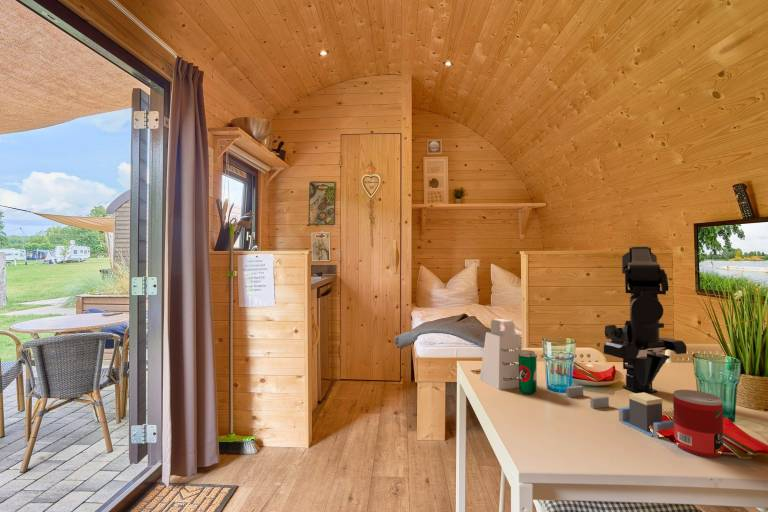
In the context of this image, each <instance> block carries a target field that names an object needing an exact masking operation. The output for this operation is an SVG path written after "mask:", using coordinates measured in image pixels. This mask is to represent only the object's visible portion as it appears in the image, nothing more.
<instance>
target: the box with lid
mask: <svg viewBox="0 0 768 512" xmlns="http://www.w3.org/2000/svg"><path fill="white" fill-rule="evenodd" d="M628 399H629V402H628V403H629V405H628V407H629V408H630V424H631V425H633V426H635V427H638V428H640V429H642V430H644V431H646V432H649V431H650V428H649V426H650V425H652V424H653V423H654V422H661V421H663V398H661V397H658V396H655V395H654V394H653V395H652V394H651V393H645V392H643V393H636V392H634V393H629V394H628Z"/></svg>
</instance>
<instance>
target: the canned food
mask: <svg viewBox="0 0 768 512" xmlns="http://www.w3.org/2000/svg"><path fill="white" fill-rule="evenodd" d="M672 397H673V401H672V402H673V421H674V436H673V438H674V437H675V439H676V440H678V441H679V442H680V443H679V444H678V446H677V448H679V449H680V450H682V451H684V452H686V453H689V454H691V455H696V456H699V457H700V456H701V457H706V458H719V457H721V456H722V455H721V454H720V453H718V451H720V450H722V449H723V450H724V416H723V415H724V407H723V399H722V398H721V397H719V396H718V395H715V394H712V393H709V392H705V391H701V390H700V391H699V390H693V389H676V390H674V391H673V396H672Z"/></svg>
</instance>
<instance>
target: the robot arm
mask: <svg viewBox="0 0 768 512" xmlns="http://www.w3.org/2000/svg"><path fill="white" fill-rule="evenodd" d="M621 273H622V275H624V288H625V290H624V291H625V292H624V293H625V294H630V297H629V320H625V322H624V326H622V327H617V326H616V324H609V325H605V326H604V336H605V339H607V340H609V339H610V340H611V341H606V342H604V344H603V354H605V355H608V356H612V357H616V358H619V359H622V369H623V370H626V373H625V385H622V386H621V387H622V388H623V389H626V390H628V391H632V392H634V393H643V392H645V393H647V394H653V393H657V392H658V390H657V389H655V388H653V382H654V380H655V378H656V377H657V375H658V373H660V370H661V368H662V367H664V364H665V363H666V362H667V360H668V359H670V355H666V354H665V351H673V352H674V353H675V354H676V355H683V354H684V355H685V354H687V344H686V343H685V342H684V341H683V340H679V339H675V338H670V337H666V336H665V337H660V329H663V328H665V323H663V322H660V320H661V319H662V317H663V315H664V307H663V305H662V303H661V301H660V299H659V296H658V295H667V292H668V291H669V281H668V273H666V270H665V269H664V268H661V265H660V263H659V262H658V258H657V255H656V254H655V253H653V252H652V247H649V246H648V245H647V246H631V247H629V250H628V252H627V253H625V254H624V255H622V256H621Z"/></svg>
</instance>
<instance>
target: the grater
mask: <svg viewBox="0 0 768 512" xmlns="http://www.w3.org/2000/svg"><path fill="white" fill-rule="evenodd" d="M501 322H502V323H503V325H504V330H501ZM515 330H516V329H515V323H514V321H513V320H509V319H505V318H493V319H491V321H490V331H486V332H485V337H484V344H483V353H482V359H481V366H480V375H479V381H481V382H483V383H485V384H486V385H489V386H491V387H493V388H495V389H497V390H498V391H499V390H508V389H514V388H519V361H518V355H519V353H520V351H521V350H523V348H522V343H521V335H520V334H518V333H515ZM511 378H512V379H511ZM505 379H511V380H505ZM513 379H514V380H513Z"/></svg>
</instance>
